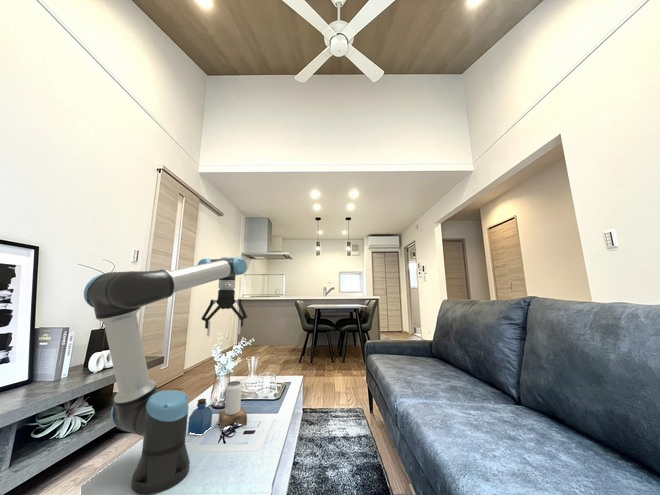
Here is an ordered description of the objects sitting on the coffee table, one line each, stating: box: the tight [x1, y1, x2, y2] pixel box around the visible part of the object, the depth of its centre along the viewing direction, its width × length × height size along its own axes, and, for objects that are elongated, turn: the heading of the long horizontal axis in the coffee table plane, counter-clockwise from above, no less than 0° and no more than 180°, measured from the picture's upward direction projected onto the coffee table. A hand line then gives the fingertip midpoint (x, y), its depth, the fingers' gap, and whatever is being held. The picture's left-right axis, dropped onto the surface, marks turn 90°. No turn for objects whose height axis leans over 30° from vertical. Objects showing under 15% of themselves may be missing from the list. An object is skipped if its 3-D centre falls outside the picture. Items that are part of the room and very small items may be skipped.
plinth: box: [218, 406, 248, 429], centre depth 117 cm, size 10×10×4 cm
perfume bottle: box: [187, 398, 213, 434], centre depth 111 cm, size 6×6×12 cm
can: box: [224, 380, 242, 415], centre depth 119 cm, size 6×6×12 cm
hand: (223, 334), depth 126 cm, fingers open, 13 cm apart
